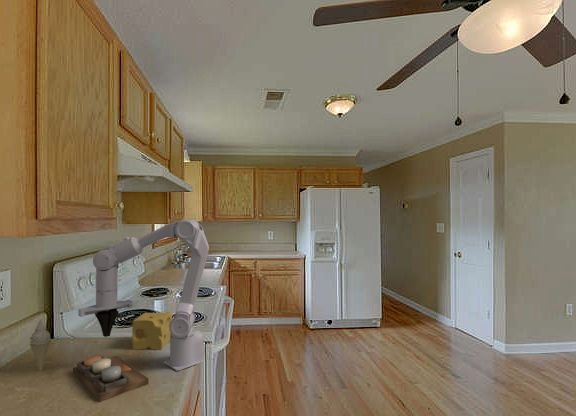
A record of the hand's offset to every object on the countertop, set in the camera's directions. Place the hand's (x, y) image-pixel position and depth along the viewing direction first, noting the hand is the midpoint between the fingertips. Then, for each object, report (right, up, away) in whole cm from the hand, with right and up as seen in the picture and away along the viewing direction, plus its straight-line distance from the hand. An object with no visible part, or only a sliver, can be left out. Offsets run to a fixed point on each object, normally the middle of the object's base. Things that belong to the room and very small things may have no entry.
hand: (106, 335), depth 105 cm
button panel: (+4, -9, -7) cm, 13 cm away
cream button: (+3, -6, -9) cm, 11 cm away
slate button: (+8, -6, -13) cm, 17 cm away
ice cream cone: (-18, -10, -2) cm, 21 cm away
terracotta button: (-2, -7, -4) cm, 8 cm away
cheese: (+7, -10, +18) cm, 22 cm away
